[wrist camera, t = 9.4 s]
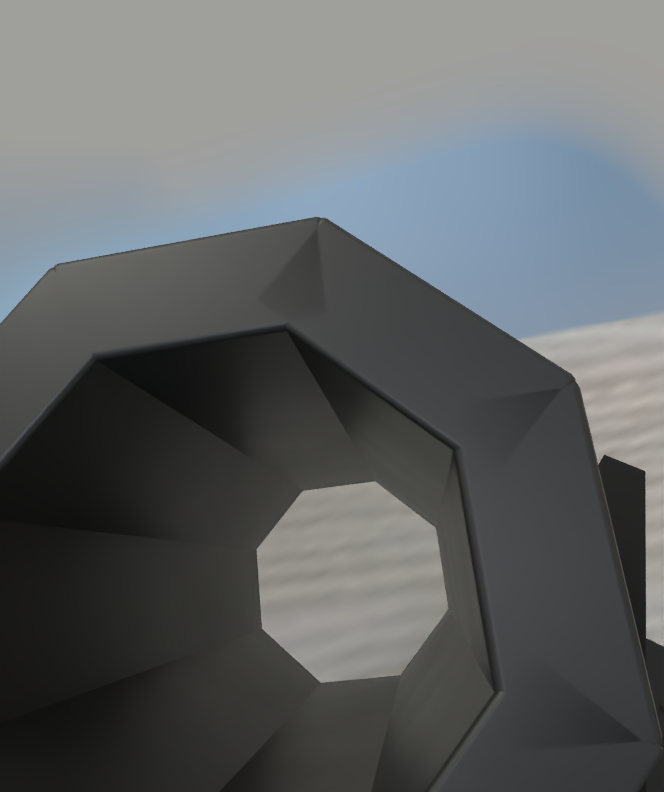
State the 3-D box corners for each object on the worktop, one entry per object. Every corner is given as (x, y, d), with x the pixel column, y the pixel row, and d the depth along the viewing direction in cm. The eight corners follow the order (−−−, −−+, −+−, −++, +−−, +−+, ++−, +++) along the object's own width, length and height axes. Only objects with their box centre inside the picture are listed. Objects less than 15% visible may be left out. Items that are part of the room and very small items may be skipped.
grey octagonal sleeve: (465, 424, 16) (532, 174, 6) (517, 719, 14) (756, 1116, 4) (208, 460, 17) (-127, 293, 7) (223, 744, 15) (-223, 1130, 5)
